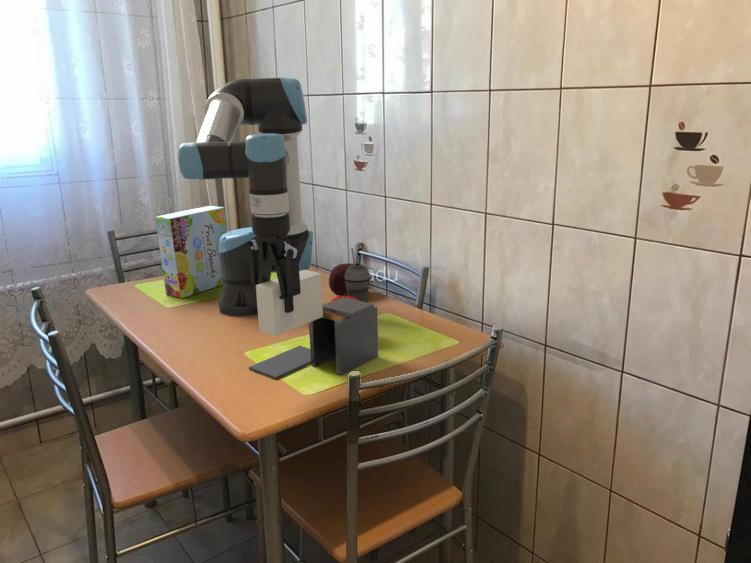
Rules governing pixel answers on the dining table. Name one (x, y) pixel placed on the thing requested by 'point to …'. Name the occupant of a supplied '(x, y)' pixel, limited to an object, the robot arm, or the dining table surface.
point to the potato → (338, 279)
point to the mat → (284, 363)
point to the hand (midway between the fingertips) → (277, 323)
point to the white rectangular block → (304, 303)
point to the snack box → (191, 249)
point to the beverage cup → (357, 281)
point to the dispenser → (345, 334)
